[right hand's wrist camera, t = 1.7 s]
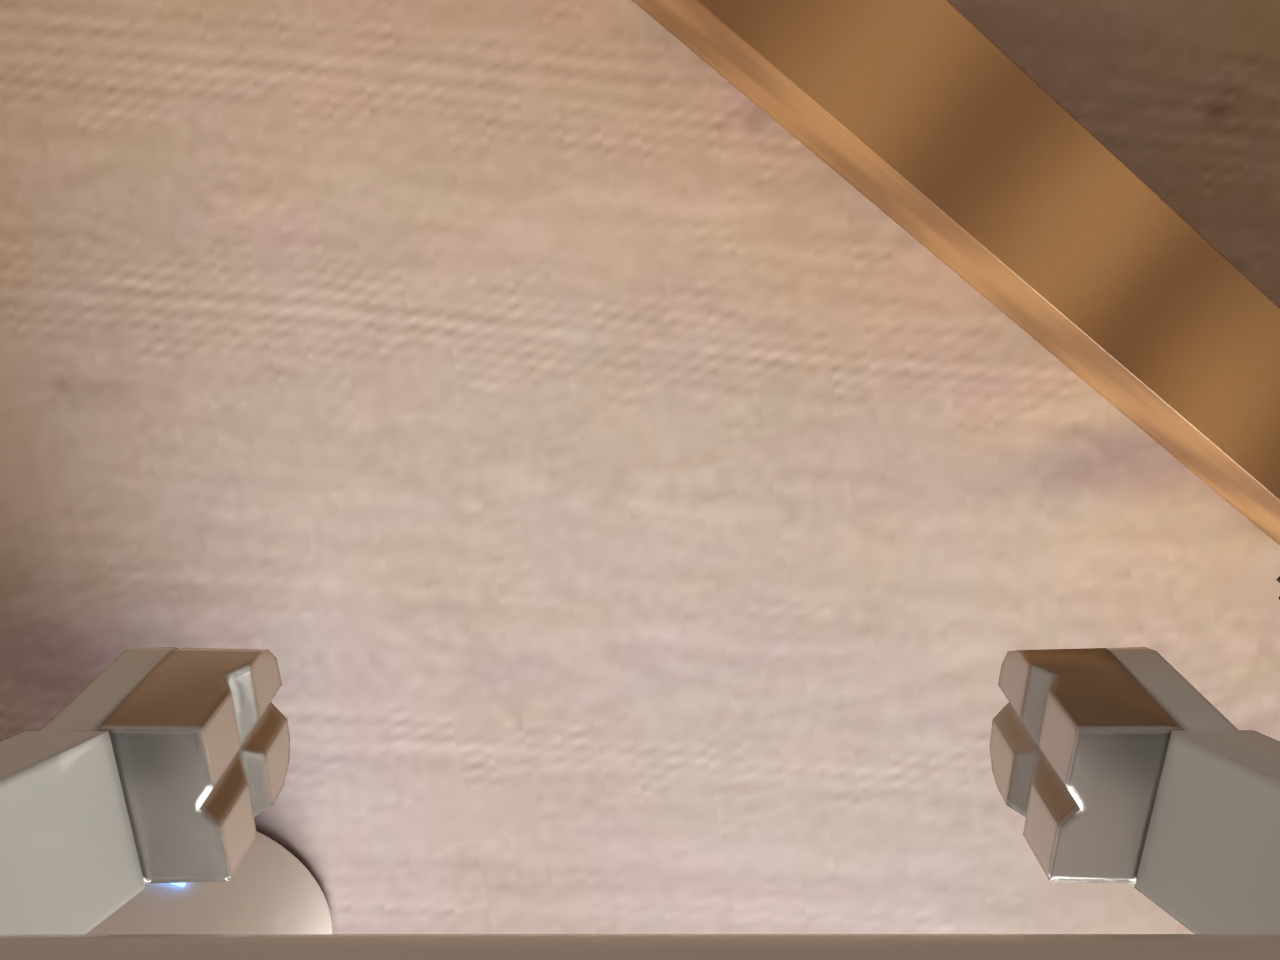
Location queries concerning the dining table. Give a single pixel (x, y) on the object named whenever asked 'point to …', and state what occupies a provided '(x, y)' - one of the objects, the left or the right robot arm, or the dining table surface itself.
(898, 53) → the beam
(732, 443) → the dining table surface
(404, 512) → the dining table surface
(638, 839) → the dining table surface
